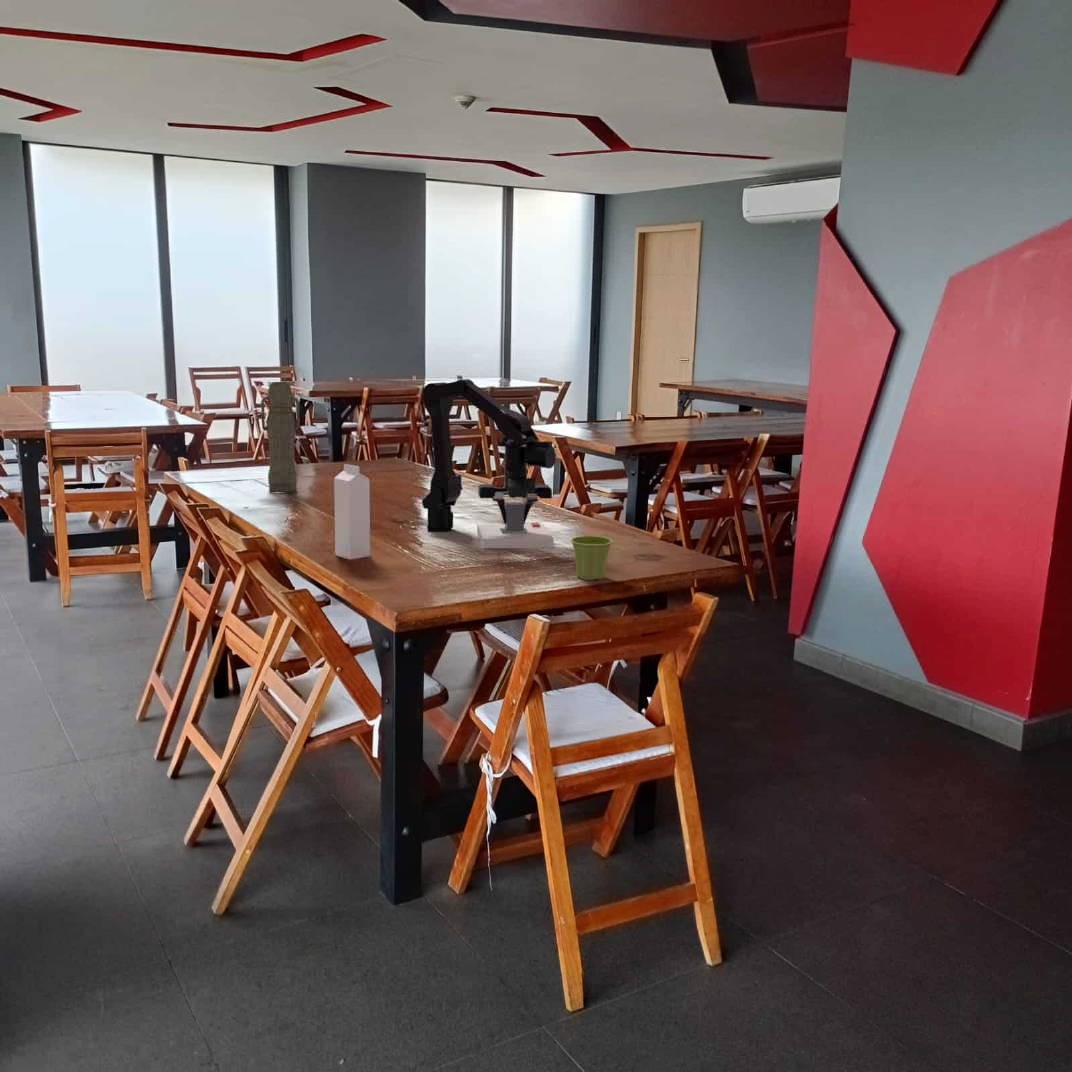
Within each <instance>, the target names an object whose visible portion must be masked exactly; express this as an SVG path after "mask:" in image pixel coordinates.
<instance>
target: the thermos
mask: <svg viewBox="0 0 1072 1072" xmlns="http://www.w3.org/2000/svg"><path fill="white" fill-rule="evenodd" d="M265 401H267V407H268V415H267V418H266V420H265V417H266V416H265ZM293 401H295V405H296V409H295V411H296V412H295V413H296V420H295V417H294V411H293V405H294V402H293ZM300 403H301V402H300V400H299V399H298V398H297V397H294V395H293V391H292V387H291V384H290V383H288V381H272V382H271V383H269V386H268V390H267V396H264V397H263V398H262V399H261V401H260V409H261V426H262V427H261V428H262V430H265V431H266V436H267V440H268V453H269V454H268V457H269V469H268V473H267V474H268V475H267V478H268V480H267V483H268V488H269V489H268V492H269V491H270V493H272V492H292V493H295V492H294V491H296V490H297V483H298V479H297V478H298V476H297V475H298V474H297V471H296V468H295V467H296V466H295V459H296V458H295V439H296V431H298V430H299V429H300V427H301V420H300V419H301V418H300V417H301V416H300V415H301V414H300V412H301V408H300V406H301V405H300ZM265 421H266V422H265ZM265 423H266V425H265ZM296 492H297V491H296Z"/></svg>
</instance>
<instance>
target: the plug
mask: <svg viewBox="0 0 1072 1072" xmlns="http://www.w3.org/2000/svg"><path fill="white" fill-rule="evenodd" d="M505 512H506V524H505V530H506V531H524V501H522V500H507V501H505Z"/></svg>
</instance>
